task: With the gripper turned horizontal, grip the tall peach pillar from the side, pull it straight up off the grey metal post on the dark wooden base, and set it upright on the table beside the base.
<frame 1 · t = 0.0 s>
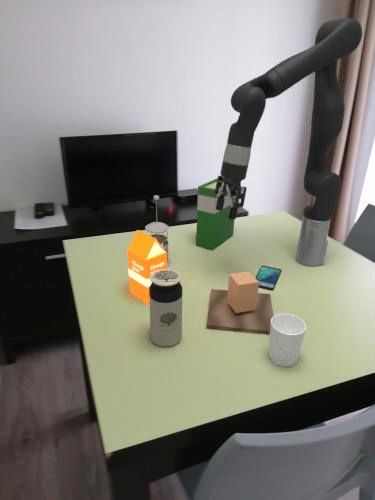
hand: (225, 214, 111), 22 cm above the table, tool pointing down, fingers open, 8 cm apart
orange juice: (148, 294, 111), on the table
tall peach pillar: (241, 305, 102), point 2 cm above the table, touching post base
white cup: (282, 357, 87), on the table
smartphone: (266, 279, 122), on the table
post base: (240, 311, 103), on the table
french press: (158, 262, 130), on the table
hardback book: (215, 241, 147), on the table
travel mug: (166, 337, 93), on the table
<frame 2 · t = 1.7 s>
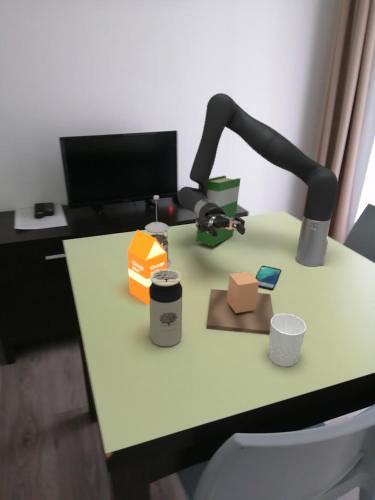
hand: (230, 233, 104), 20 cm above the table, tool horizontal, fingers open, 8 cm apart
hardback book: (215, 238, 147), point 1 cm above the table, touching arm
everything else where it was.
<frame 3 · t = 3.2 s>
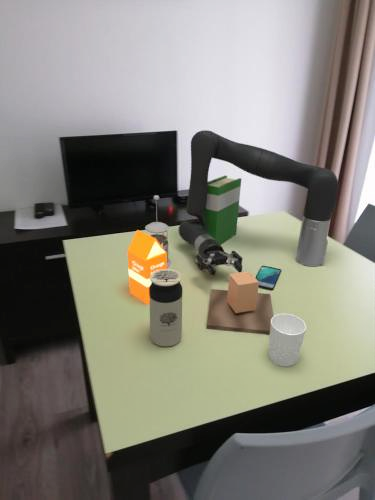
hand: (227, 271, 109), 8 cm above the table, tool horizontal, fingers open, 8 cm apart
hardback book: (217, 239, 149), on the table, touching arm
everything else where it was.
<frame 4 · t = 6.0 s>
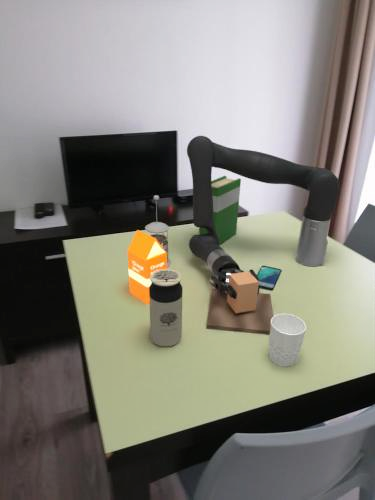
hand: (246, 294, 98), 8 cm above the table, tool horizontal, fingers closed on tall peach pillar, 6 cm apart
tall peach pillar: (241, 305, 102), point 2 cm above the table, touching gripper, post base
hardback book: (217, 239, 149), on the table
everything else where it was.
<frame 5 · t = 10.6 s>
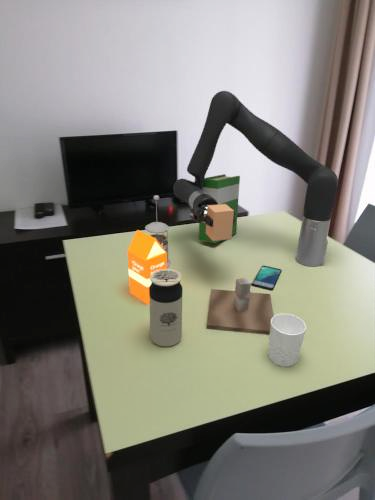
hand: (222, 222, 106), 22 cm above the table, tool horizontal, fingers closed on tall peach pillar, 6 cm apart
tall peach pillar: (218, 236, 110), point 17 cm above the table, touching gripper
hardback book: (218, 237, 148), point 1 cm above the table, touching arm
everything else where it was.
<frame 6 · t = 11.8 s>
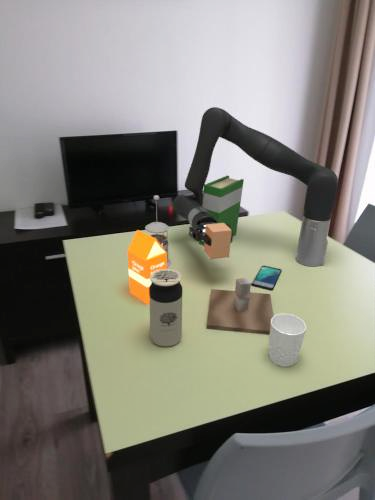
hand: (220, 241, 109), 16 cm above the table, tool horizontal, fingers closed on tall peach pillar, 6 cm apart
tall peach pillar: (216, 253, 113), point 10 cm above the table, touching gripper
hardback book: (218, 239, 149), on the table
everything else where it was.
when the fingers open (7 cm above the table, at t = 13.9 s): tall peach pillar drops 2 cm, on the table.
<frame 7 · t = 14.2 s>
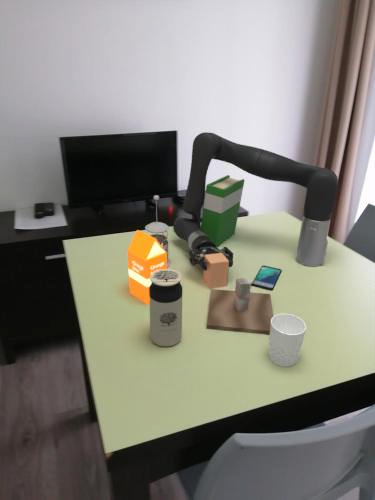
hand: (218, 266, 113), 7 cm above the table, tool horizontal, fingers open, 8 cm apart
tall peach pillar: (214, 282, 118), on the table
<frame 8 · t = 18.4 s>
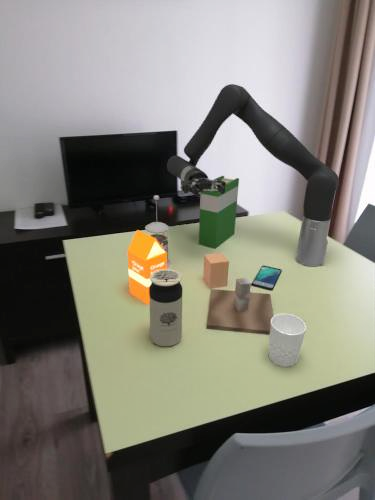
hand: (210, 192, 112), 28 cm above the table, tool horizontal, fingers open, 8 cm apart
at the end: tall peach pillar inside the target area (0.2 cm from its centre), on the table; tall peach pillar tilted 0°; tall peach pillar touching table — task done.
